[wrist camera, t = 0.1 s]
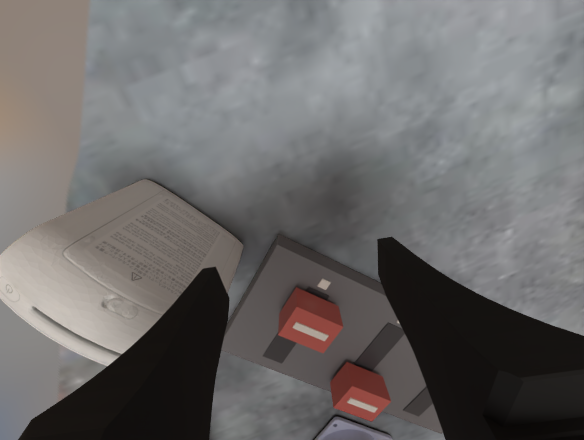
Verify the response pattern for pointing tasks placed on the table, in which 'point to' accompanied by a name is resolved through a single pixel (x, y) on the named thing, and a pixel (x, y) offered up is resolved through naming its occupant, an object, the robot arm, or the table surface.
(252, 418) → the table surface
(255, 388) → the table surface
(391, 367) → the slider switch panel
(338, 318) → the switch
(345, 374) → the switch
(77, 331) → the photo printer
